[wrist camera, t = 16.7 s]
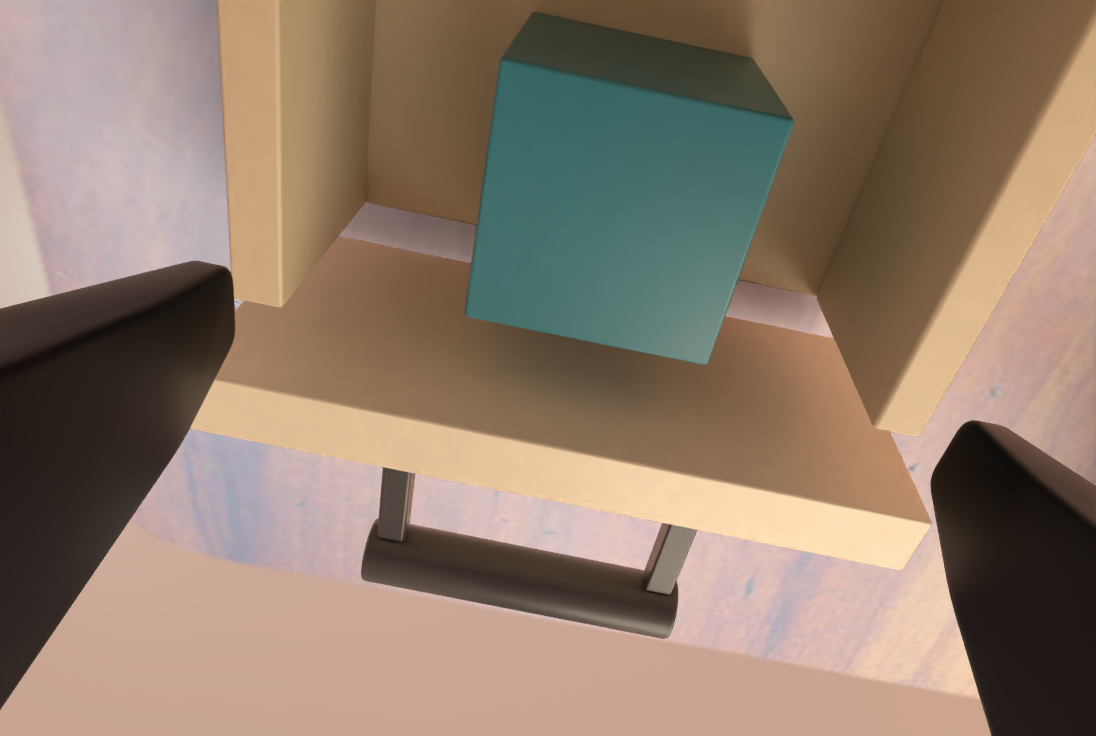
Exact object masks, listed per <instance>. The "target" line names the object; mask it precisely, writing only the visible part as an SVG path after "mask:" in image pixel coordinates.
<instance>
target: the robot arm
mask: <svg viewBox="0 0 1096 736" xmlns="http://www.w3.org/2000/svg"><path fill="white" fill-rule="evenodd" d="M234 337H235V307H234V286H233V278H232V275H231V272H230V271H229V270H228V269H227V268H226V267H223V266H220V265H215V264H210V263H205V262H200V261H190V262H186V263H182V264H178V265H174V266H170V267H166V268H162V269H158V270H154V271H150V272H146V273H142V274H138V275H134V276H130V277H125V278H121V279H117V280H113V281H109V282H105V283H101V284H97V285H93V286H89V287H85V288H81V289H77V290H73V291H69V292H65V293H61V294H57V295H53V296H49V297H45V298H41V299H37V300H33V301H29V302H25V303H21V304H17V305H13V306H9V307H5V308H1V309H0V710H1V708H2V707H3V705H4V703H5V702H6V701H7V699H8V698H9V696H10V695H11V693H12V692H13V690H14V689H15V687H16V686H17V685H18V683H19V682H20V680H21V679H22V677H23V676H24V674H25V673H26V671H27V670H28V668H29V667H30V666H31V664H32V663H33V661H34V660H35V658H36V657H37V655H38V654H39V652H40V651H41V649H42V648H43V646H44V645H45V644H46V642H47V641H48V639H49V638H50V636H51V635H52V633H53V632H54V630H55V629H56V627H57V626H58V625H59V623H60V622H61V620H62V619H63V617H64V616H65V614H66V613H67V611H68V610H69V608H70V607H71V605H72V604H73V602H74V601H75V600H76V598H77V596H78V595H79V594H80V592H81V591H82V589H83V588H84V586H85V585H86V584H87V582H88V581H89V579H90V577H91V576H92V575H93V573H94V572H95V570H96V569H97V567H98V566H99V564H100V563H101V562H102V560H103V559H104V557H105V556H106V554H107V553H108V551H109V549H110V548H111V547H112V545H113V544H114V542H115V541H116V539H117V538H118V537H119V535H120V534H121V532H122V531H123V529H124V528H125V526H126V525H127V523H128V522H129V520H130V519H131V518H132V516H133V515H134V513H135V512H136V510H137V509H138V507H139V506H140V504H141V503H142V501H143V500H144V499H145V497H146V496H147V494H148V493H149V491H150V490H151V488H152V487H153V485H154V484H155V482H156V481H157V479H158V478H159V477H160V475H161V474H162V472H163V471H164V469H165V468H166V466H167V465H168V463H169V462H170V460H171V459H172V457H173V456H174V454H175V453H176V451H177V450H178V448H179V446H180V445H181V443H182V442H183V440H184V438H185V436H186V434H187V433H188V431H189V429H190V427H191V425H192V423H193V421H194V419H195V417H196V415H197V413H198V411H199V409H200V408H201V406H202V404H203V402H204V400H205V398H206V396H207V394H208V392H209V390H210V388H211V386H212V384H213V382H214V380H215V378H216V376H217V374H218V372H219V370H220V368H221V366H222V364H223V363H224V361H225V359H226V357H227V355H228V353H229V351H230V349H231V347H232V344H233V341H234ZM931 494H932V500H933V505H934V511H935V517H936V522H937V528H938V533H939V539H940V545H941V550H942V556H943V561H944V567H945V573H946V578H947V583H948V588H949V592H950V597H951V601H952V604H953V608H954V612H955V616H956V619H957V622H958V626H959V629H960V632H961V636H962V639H963V642H964V646H965V649H966V652H967V656H968V659H969V662H970V666H971V669H972V672H973V676H974V679H975V682H976V686H977V689H978V692H979V696H980V699H981V702H982V705H983V709H984V713H985V716H986V719H987V723H988V726H989V729H990V732H991V736H1096V486H1095V485H1093V484H1092V483H1090V482H1089V481H1087V480H1086V479H1084V478H1083V477H1081V476H1080V475H1078V474H1076V473H1075V472H1073V471H1072V470H1070V469H1069V468H1067V467H1066V466H1064V465H1063V464H1061V463H1060V462H1058V461H1057V460H1055V459H1053V458H1052V457H1050V456H1049V455H1047V454H1046V453H1044V452H1043V451H1041V450H1040V449H1038V448H1037V447H1035V446H1034V445H1032V444H1031V443H1029V442H1027V441H1026V440H1024V439H1023V438H1021V437H1020V436H1018V435H1017V434H1015V433H1014V432H1012V431H1011V430H1009V429H1008V428H1006V427H1003V426H1000V425H996V424H991V423H986V422H981V421H974V420H972V421H969V422H966V423H964V424H963V425H962V426H961V427H960V428H959V430H958V431H957V433H956V434H955V436H954V438H953V439H952V441H951V443H950V444H949V446H948V448H947V449H946V451H945V452H944V454H943V456H942V457H941V459H940V461H939V462H938V464H937V466H936V467H935V469H934V471H933V474H932V478H931Z"/></svg>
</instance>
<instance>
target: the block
mask: <svg viewBox="0 0 1096 736" xmlns="http://www.w3.org/2000/svg"><path fill="white" fill-rule="evenodd" d="M793 125H794V119H793V118H792V116H791V115H790V113H789V112H788V110H787V109H786V107H785V106H784V104H783V103H782V101H781V99H780V98H779V96H778V95H777V93H776V92H775V90H774V89H773V87H772V86H771V84H770V83H769V81H768V80H767V78H766V77H765V75H764V74H763V72H762V71H761V69H760V68H759V66H758V65H757V63H756V62H755V60H754V59H753V58H750V57H745V56H740V55H736V54H731V53H726V52H722V51H717V50H712V49H708V48H703V47H698V46H693V45H689V44H684V43H679V42H675V41H670V40H665V39H661V38H656V37H651V36H647V35H642V34H637V33H633V32H628V31H623V30H618V29H614V28H609V27H604V26H600V25H595V24H590V23H586V22H581V21H576V20H572V19H567V18H562V17H558V16H553V15H548V14H544V13H539V12H532V13H531V15H530V16H529V18H528V19H527V21H526V22H525V24H524V25H523V27H522V28H521V29H520V31H519V32H518V34H517V35H516V37H515V38H514V40H513V41H512V43H511V44H510V46H509V47H508V49H507V50H506V51H505V53H504V54H503V56H502V57H501V59H500V61H499V67H498V74H497V81H496V88H495V95H494V103H493V110H492V117H491V124H490V131H489V139H488V146H487V153H486V160H485V167H484V175H483V182H482V189H481V196H480V204H479V211H478V218H477V225H476V232H475V240H474V247H473V254H472V261H471V268H470V276H469V283H468V290H467V297H466V304H465V312H464V313H465V316H467V317H470V318H475V319H480V320H485V321H490V322H494V323H499V324H504V325H509V326H514V327H519V328H524V329H529V330H534V331H539V332H544V333H549V334H554V335H559V336H563V337H568V338H573V339H578V340H583V341H588V342H593V343H598V344H603V345H608V346H613V347H618V348H623V349H628V350H633V351H637V352H642V353H647V354H652V355H657V356H662V357H667V358H672V359H677V360H682V361H687V362H692V363H697V364H702V365H707V364H708V362H709V360H710V357H711V354H712V351H713V349H714V346H715V343H716V340H717V337H718V335H719V332H720V329H721V326H722V323H723V321H724V318H725V315H726V312H727V309H728V307H729V304H730V301H731V298H732V295H733V293H734V290H735V287H736V284H737V282H738V279H739V276H740V273H741V270H742V268H743V265H744V262H745V259H746V256H747V254H748V251H749V248H750V245H751V242H752V240H753V237H754V234H755V231H756V228H757V226H758V223H759V220H760V217H761V214H762V212H763V209H764V206H765V203H766V200H767V198H768V195H769V192H770V189H771V187H772V184H773V181H774V178H775V175H776V173H777V170H778V167H779V164H780V161H781V159H782V156H783V153H784V150H785V147H786V145H787V142H788V139H789V136H790V133H791V131H792V128H793Z"/></svg>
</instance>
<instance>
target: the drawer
mask: <svg viewBox="0 0 1096 736" xmlns="http://www.w3.org/2000/svg"><path fill="white" fill-rule="evenodd" d="M217 10H218V29H219V49H220V68H221V87H222V106H223V126H224V145H225V164H226V184H227V203H228V222H229V242H230V261H231V275H232V278H233V286H234V298H236V299H241V300H244V302H243V303H242V304H241V305H240V306H239V307H238V308H237V309H236V311H235V337H234V341H233V344H232V347H231V349H230V351H229V353H228V355H227V357H226V359H225V361H224V363H223V364H222V366H221V368H220V370H219V372H218V374H217V376H216V378H215V380H214V382H213V384H212V386H211V388H210V390H209V392H208V394H207V396H206V398H205V400H204V402H203V404H202V406H201V408H200V409H199V411H198V413H197V415H196V417H195V419H194V421H193V423H192V425H191V427H190V429H194V430H199V431H204V432H209V433H214V434H219V435H224V436H229V437H234V438H239V439H244V440H249V441H254V442H259V443H264V444H269V445H274V446H279V447H284V448H289V449H295V450H300V451H305V452H310V453H315V454H320V455H325V456H330V457H335V458H340V459H345V460H350V461H355V462H360V463H365V464H370V465H375V466H380V467H383V473H382V485H381V497H380V508H379V518H378V519H376V520H375V522H374V523H373V525H372V528H371V530H370V533H369V536H368V539H367V543H366V546H365V551H364V555H363V560H362V568H361V576H362V579H363V580H365V581H369V582H375V583H380V584H385V585H390V586H395V587H400V588H405V589H410V590H416V591H421V592H426V593H431V594H436V595H441V596H446V597H451V598H457V599H462V600H467V601H472V602H477V603H482V604H487V605H492V606H498V607H503V608H508V609H513V610H518V611H523V612H528V613H533V614H539V615H544V616H549V617H554V618H559V619H564V620H569V621H574V622H580V623H585V624H590V625H595V626H600V627H605V628H610V629H615V630H621V631H626V632H631V633H636V634H641V635H646V636H651V637H656V638H662V639H665V638H668V636H669V635H670V633H671V631H672V629H673V626H674V622H675V618H676V613H677V606H678V585H677V578H678V575H679V573H680V571H681V568H682V566H683V563H684V561H685V558H686V556H687V554H688V551H689V549H690V546H691V544H692V541H693V539H694V537H695V534H696V532H697V530H701V531H706V532H711V533H716V534H721V535H726V536H731V537H736V538H741V539H746V540H751V541H756V542H761V543H766V544H771V545H776V546H781V547H786V548H791V549H796V550H801V551H806V552H811V553H816V554H821V555H826V556H831V557H836V558H841V559H847V560H852V561H857V562H862V563H867V564H872V565H877V566H882V567H887V568H892V569H897V570H902V569H903V568H904V566H905V565H906V563H907V562H908V560H909V559H910V557H911V556H912V554H913V552H914V551H915V549H916V548H917V546H918V545H919V543H920V542H921V540H922V539H923V537H924V536H925V534H926V532H927V531H928V529H929V528H930V526H931V524H932V521H931V519H930V517H929V515H928V513H927V511H926V508H925V506H924V504H923V502H922V500H921V498H920V496H919V493H918V491H917V489H916V487H915V485H914V483H913V480H912V478H911V476H910V474H909V472H908V470H907V468H906V465H905V463H904V461H903V459H902V457H901V455H900V453H899V450H898V448H897V446H896V444H895V442H894V440H893V438H892V435H891V433H890V431H891V432H896V433H901V434H906V435H911V436H919V435H920V434H921V433H922V431H923V430H924V428H925V426H926V424H927V423H928V421H929V419H930V418H931V416H932V414H933V412H934V411H935V409H936V407H937V406H938V404H939V402H940V400H941V399H942V397H943V395H944V394H945V392H946V390H947V388H948V387H949V385H950V383H951V382H952V380H953V378H954V376H955V375H956V373H957V371H958V370H959V368H960V366H961V364H962V363H963V361H964V359H965V358H966V356H967V354H968V352H969V351H970V349H971V347H972V346H973V344H974V342H975V340H976V339H977V337H978V335H979V334H980V332H981V330H982V328H983V327H984V325H985V323H986V322H987V320H988V318H989V316H990V315H991V313H992V311H993V310H994V308H995V306H996V304H997V303H998V301H999V299H1000V298H1001V296H1002V294H1003V292H1004V291H1005V289H1006V287H1007V286H1008V284H1009V282H1010V280H1011V279H1012V277H1013V275H1014V274H1015V272H1016V270H1017V268H1018V267H1019V265H1020V263H1021V262H1022V260H1023V258H1024V256H1025V255H1026V253H1027V251H1028V250H1029V248H1030V246H1031V244H1032V243H1033V241H1034V239H1035V238H1036V236H1037V234H1038V232H1039V231H1040V229H1041V227H1042V226H1043V224H1044V222H1045V220H1046V219H1047V217H1048V215H1049V214H1050V212H1051V210H1052V208H1053V207H1054V205H1055V203H1056V202H1057V200H1058V198H1059V196H1060V195H1061V193H1062V191H1063V190H1064V188H1065V186H1066V184H1067V183H1068V181H1069V179H1070V178H1071V176H1072V174H1073V172H1074V171H1075V169H1076V167H1077V166H1078V164H1079V162H1080V160H1081V159H1082V157H1083V155H1084V154H1085V152H1086V150H1087V148H1088V147H1089V145H1090V143H1091V142H1092V140H1093V138H1094V136H1095V135H1096V0H217ZM532 12H539V13H544V14H548V15H553V16H558V17H562V18H567V19H572V20H576V21H581V22H586V23H590V24H595V25H600V26H604V27H609V28H614V29H618V30H623V31H628V32H633V33H637V34H642V35H647V36H651V37H656V38H661V39H665V40H670V41H675V42H679V43H684V44H689V45H693V46H698V47H703V48H708V49H712V50H717V51H722V52H726V53H731V54H736V55H740V56H745V57H750V58H753V59H754V60H755V62H756V63H757V65H758V66H759V68H760V69H761V71H762V72H763V74H764V75H765V77H766V78H767V80H768V81H769V83H770V84H771V86H772V87H773V89H774V90H775V92H776V93H777V95H778V96H779V98H780V99H781V101H782V103H783V104H784V106H785V107H786V109H787V110H788V112H789V113H790V115H791V116H792V118H793V119H794V125H793V128H792V131H791V133H790V136H789V139H788V142H787V145H786V147H785V150H784V153H783V156H782V159H781V161H780V164H779V167H778V170H777V173H776V175H775V178H774V181H773V184H772V187H771V189H770V192H769V195H768V198H767V200H766V203H765V206H764V209H763V212H762V214H761V217H760V220H759V223H758V226H757V228H756V231H755V234H754V237H753V240H752V242H751V245H750V248H749V251H748V254H747V256H746V259H745V262H744V265H743V268H742V270H741V273H740V276H739V279H738V280H742V281H747V282H752V283H757V284H762V285H766V286H771V287H776V288H781V289H786V290H790V291H795V292H800V293H805V294H810V295H814V296H817V301H818V303H819V305H820V307H821V310H822V312H823V314H824V316H825V319H826V321H827V323H828V326H829V328H830V330H831V332H832V335H833V337H834V339H833V338H828V337H823V336H819V335H814V334H809V333H804V332H799V331H794V330H790V329H785V328H780V327H775V326H770V325H765V324H761V323H756V322H751V321H746V320H741V319H736V318H732V317H727V316H725V318H724V321H723V323H722V326H721V329H720V332H719V335H718V337H717V340H716V343H715V346H714V349H713V351H712V354H711V357H710V360H709V362H708V364H707V365H702V364H697V363H692V362H687V361H682V360H677V359H672V358H667V357H662V356H657V355H652V354H647V353H642V352H637V351H633V350H628V349H623V348H618V347H613V346H608V345H603V344H598V343H593V342H588V341H583V340H578V339H573V338H568V337H563V336H559V335H554V334H549V333H544V332H539V331H534V330H529V329H524V328H519V327H514V326H509V325H504V324H499V323H494V322H490V321H485V320H480V319H475V318H470V317H467V316H465V313H464V312H465V304H466V297H467V290H468V283H469V276H470V268H471V263H466V262H461V261H456V260H451V259H447V258H442V257H437V256H432V255H427V254H422V253H418V252H413V251H408V250H403V249H398V248H393V247H389V246H384V245H379V244H374V243H369V242H365V241H360V240H355V239H350V238H345V237H340V236H339V235H340V233H341V232H342V231H343V230H344V228H345V227H346V226H347V225H348V223H349V222H350V221H351V220H352V218H353V217H354V216H355V215H356V213H357V212H358V211H359V210H360V208H361V207H362V206H363V204H364V203H365V202H368V203H373V204H378V205H383V206H387V207H392V208H397V209H402V210H407V211H411V212H416V213H421V214H426V215H431V216H435V217H440V218H445V219H450V220H455V221H459V222H464V223H469V224H474V225H477V218H478V211H479V204H480V196H481V189H482V182H483V175H484V167H485V160H486V153H487V146H488V139H489V131H490V124H491V117H492V110H493V103H494V95H495V88H496V81H497V74H498V67H499V61H500V59H501V57H502V56H503V54H504V53H505V51H506V50H507V49H508V47H509V46H510V44H511V43H512V41H513V40H514V38H515V37H516V35H517V34H518V32H519V31H520V29H521V28H522V27H523V25H524V24H525V22H526V21H527V19H528V18H529V16H530V15H531V13H532ZM415 474H420V475H425V476H430V477H435V478H440V479H445V480H450V481H455V482H460V483H465V484H470V485H475V486H480V487H485V488H490V489H495V490H500V491H505V492H510V493H515V494H520V495H525V496H530V497H535V498H540V499H545V500H550V501H555V502H560V503H565V504H571V505H576V506H581V507H586V508H591V509H596V510H601V511H606V512H611V513H616V514H621V515H626V516H631V517H636V518H641V519H646V520H651V521H656V522H661V523H662V525H661V528H660V531H659V533H658V536H657V539H656V541H655V544H654V547H653V549H652V552H651V555H650V557H649V560H648V563H647V565H646V568H645V570H640V569H634V568H629V567H624V566H619V565H614V564H609V563H604V562H599V561H594V560H589V559H584V558H579V557H574V556H569V555H564V554H559V553H553V552H548V551H543V550H538V549H533V548H528V547H523V546H518V545H513V544H508V543H503V542H498V541H493V540H488V539H483V538H477V537H472V536H467V535H462V534H457V533H452V532H447V531H442V530H437V529H432V528H427V527H422V526H417V525H412V524H409V522H410V514H411V505H412V497H413V488H414V479H415Z"/></svg>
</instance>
